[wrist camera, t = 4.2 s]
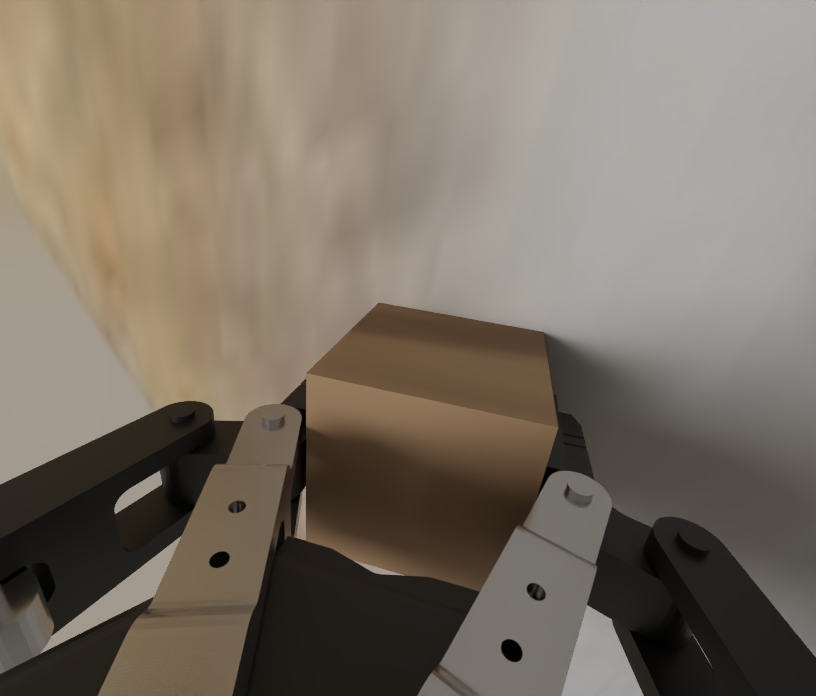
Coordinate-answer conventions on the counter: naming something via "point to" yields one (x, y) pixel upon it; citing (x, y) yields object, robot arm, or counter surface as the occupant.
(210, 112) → the counter surface
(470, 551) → the block
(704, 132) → the counter surface
